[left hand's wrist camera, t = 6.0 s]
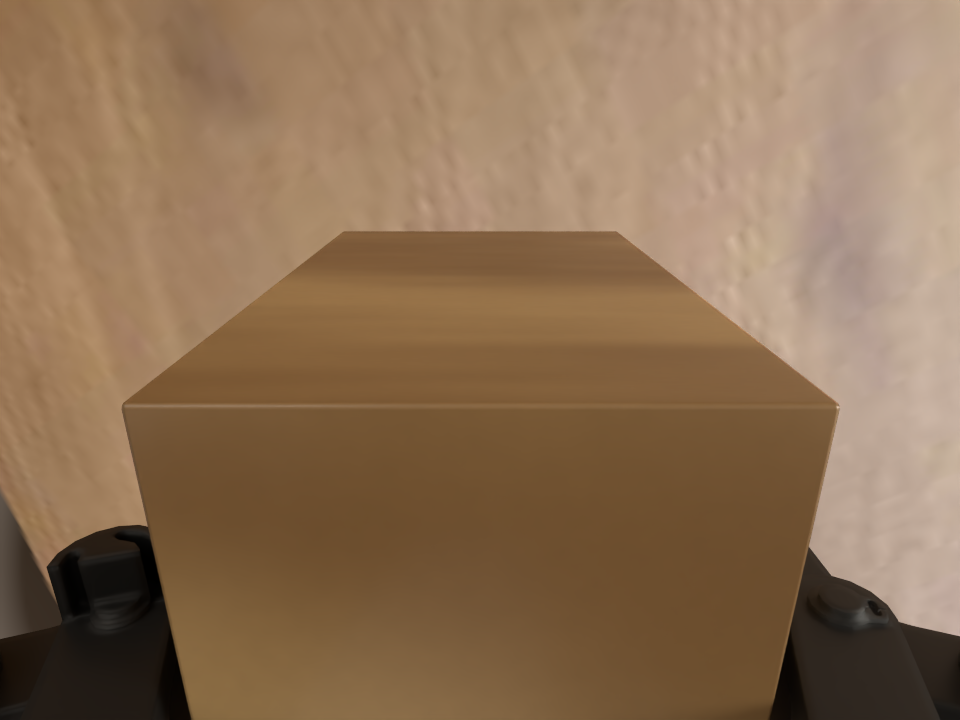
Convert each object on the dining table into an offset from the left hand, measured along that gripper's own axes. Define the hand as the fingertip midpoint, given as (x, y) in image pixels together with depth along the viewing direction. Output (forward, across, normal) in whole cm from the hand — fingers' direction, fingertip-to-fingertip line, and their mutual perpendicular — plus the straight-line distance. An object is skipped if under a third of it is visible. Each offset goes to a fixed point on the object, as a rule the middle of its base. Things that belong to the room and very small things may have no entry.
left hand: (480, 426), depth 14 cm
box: (0, 0, -9) cm, 9 cm away
